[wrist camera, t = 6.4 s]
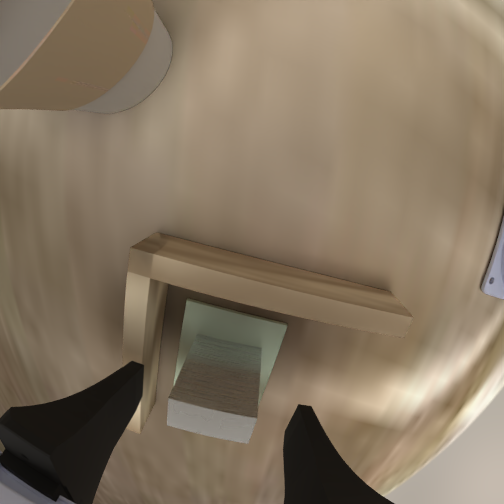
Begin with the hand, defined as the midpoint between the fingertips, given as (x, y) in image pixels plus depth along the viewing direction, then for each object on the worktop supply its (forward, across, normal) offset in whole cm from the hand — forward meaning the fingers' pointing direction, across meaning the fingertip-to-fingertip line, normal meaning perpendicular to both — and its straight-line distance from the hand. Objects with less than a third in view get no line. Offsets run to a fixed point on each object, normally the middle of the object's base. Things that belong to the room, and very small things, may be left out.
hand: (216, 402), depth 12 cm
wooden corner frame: (+6, -1, +1) cm, 6 cm away
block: (+6, 0, +4) cm, 7 cm away
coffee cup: (+6, +11, -15) cm, 19 cm away
